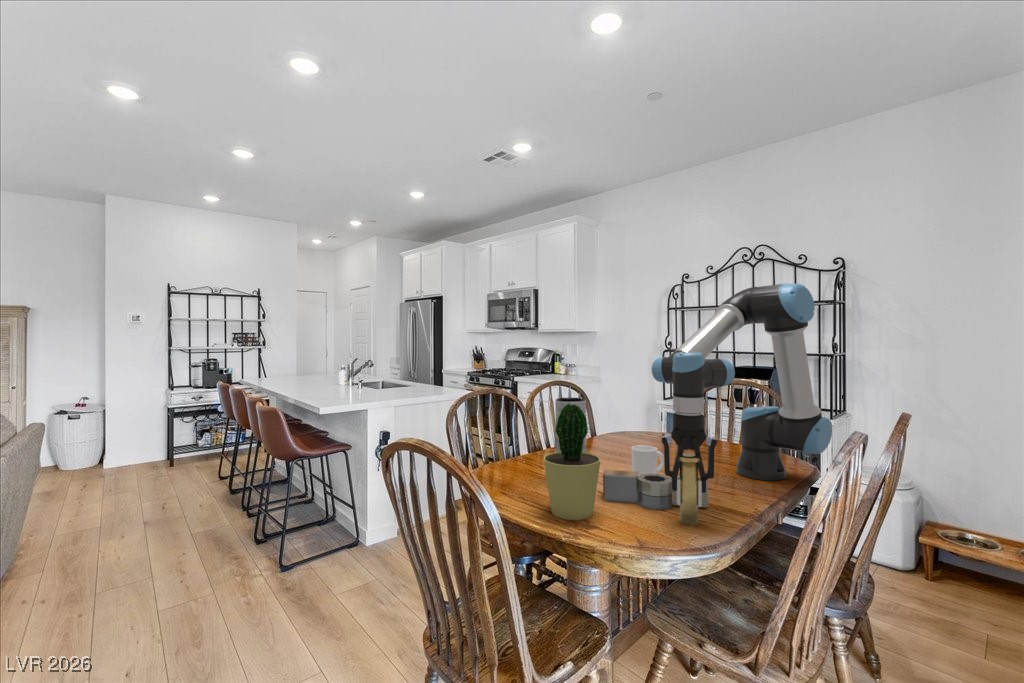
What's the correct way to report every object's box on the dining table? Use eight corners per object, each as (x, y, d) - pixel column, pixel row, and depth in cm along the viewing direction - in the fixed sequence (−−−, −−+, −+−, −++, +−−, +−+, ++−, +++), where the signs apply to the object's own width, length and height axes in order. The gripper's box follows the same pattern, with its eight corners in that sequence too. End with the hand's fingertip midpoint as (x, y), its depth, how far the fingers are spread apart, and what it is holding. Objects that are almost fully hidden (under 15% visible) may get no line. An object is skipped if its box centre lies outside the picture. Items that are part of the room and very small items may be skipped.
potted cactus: (531, 512, 130) (531, 402, 130) (567, 498, 141) (566, 397, 140) (577, 528, 119) (576, 408, 119) (612, 511, 130) (611, 401, 129)
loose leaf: (637, 506, 132) (637, 482, 132) (637, 495, 142) (637, 472, 141) (709, 512, 128) (709, 487, 128) (705, 500, 137) (705, 477, 137)
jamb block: (638, 495, 143) (638, 471, 142) (638, 501, 138) (638, 476, 138) (604, 493, 145) (604, 469, 145) (603, 498, 140) (603, 474, 140)
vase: (563, 475, 165) (563, 396, 164) (591, 479, 160) (590, 398, 159) (550, 482, 156) (550, 400, 156) (579, 487, 151) (578, 402, 151)
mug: (656, 473, 166) (656, 443, 166) (671, 479, 158) (671, 448, 158) (626, 476, 162) (626, 446, 162) (640, 483, 154) (640, 451, 154)
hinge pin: (699, 518, 124) (699, 453, 124) (703, 527, 118) (702, 459, 118) (675, 516, 126) (675, 452, 126) (677, 525, 120) (677, 458, 120)
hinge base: (671, 499, 139) (670, 474, 139) (673, 510, 130) (673, 484, 130) (605, 494, 144) (605, 470, 144) (603, 505, 135) (603, 479, 135)
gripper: (722, 411, 123) (723, 501, 123) (652, 409, 128) (652, 496, 128) (727, 416, 116) (728, 512, 116) (653, 414, 120) (653, 506, 121)
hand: (688, 503), depth 122 cm, fingers closed on hinge pin, 4 cm apart
